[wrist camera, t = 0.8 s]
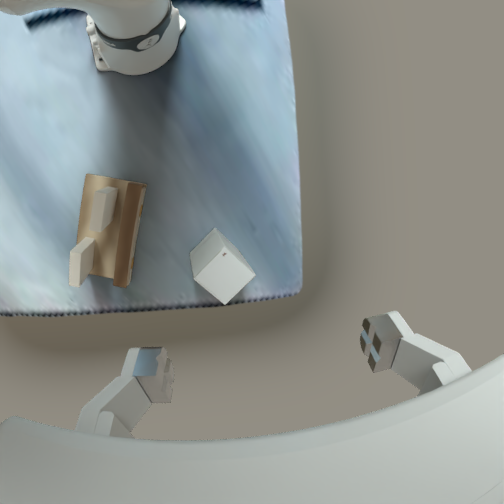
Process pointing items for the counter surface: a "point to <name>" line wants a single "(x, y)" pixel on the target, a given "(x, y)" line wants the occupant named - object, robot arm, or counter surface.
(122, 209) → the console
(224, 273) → the supplement box
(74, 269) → the white rectangular block
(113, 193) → the block
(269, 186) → the counter surface
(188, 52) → the counter surface
